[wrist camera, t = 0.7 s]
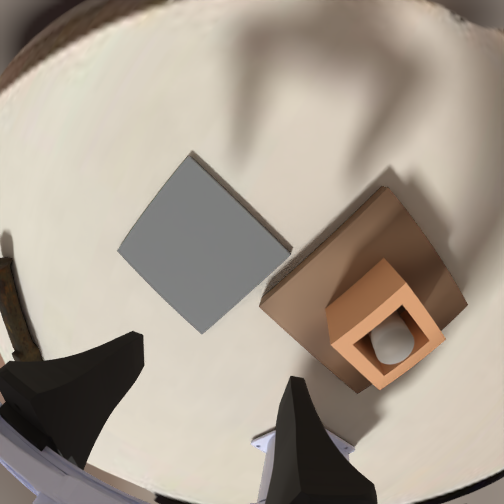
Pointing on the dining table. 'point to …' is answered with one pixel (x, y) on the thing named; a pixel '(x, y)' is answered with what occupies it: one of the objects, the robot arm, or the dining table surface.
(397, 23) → the dining table surface
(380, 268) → the hollow square tube
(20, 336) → the hand tool
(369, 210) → the post block
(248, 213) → the pad
